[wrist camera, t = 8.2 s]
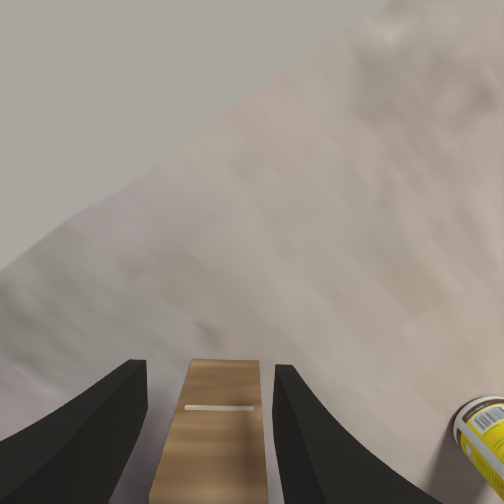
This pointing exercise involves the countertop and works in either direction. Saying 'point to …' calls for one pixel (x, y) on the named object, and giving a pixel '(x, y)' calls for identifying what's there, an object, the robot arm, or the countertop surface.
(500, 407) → the supplement bottle
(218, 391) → the walnut domino
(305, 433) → the robot arm
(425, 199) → the countertop surface
